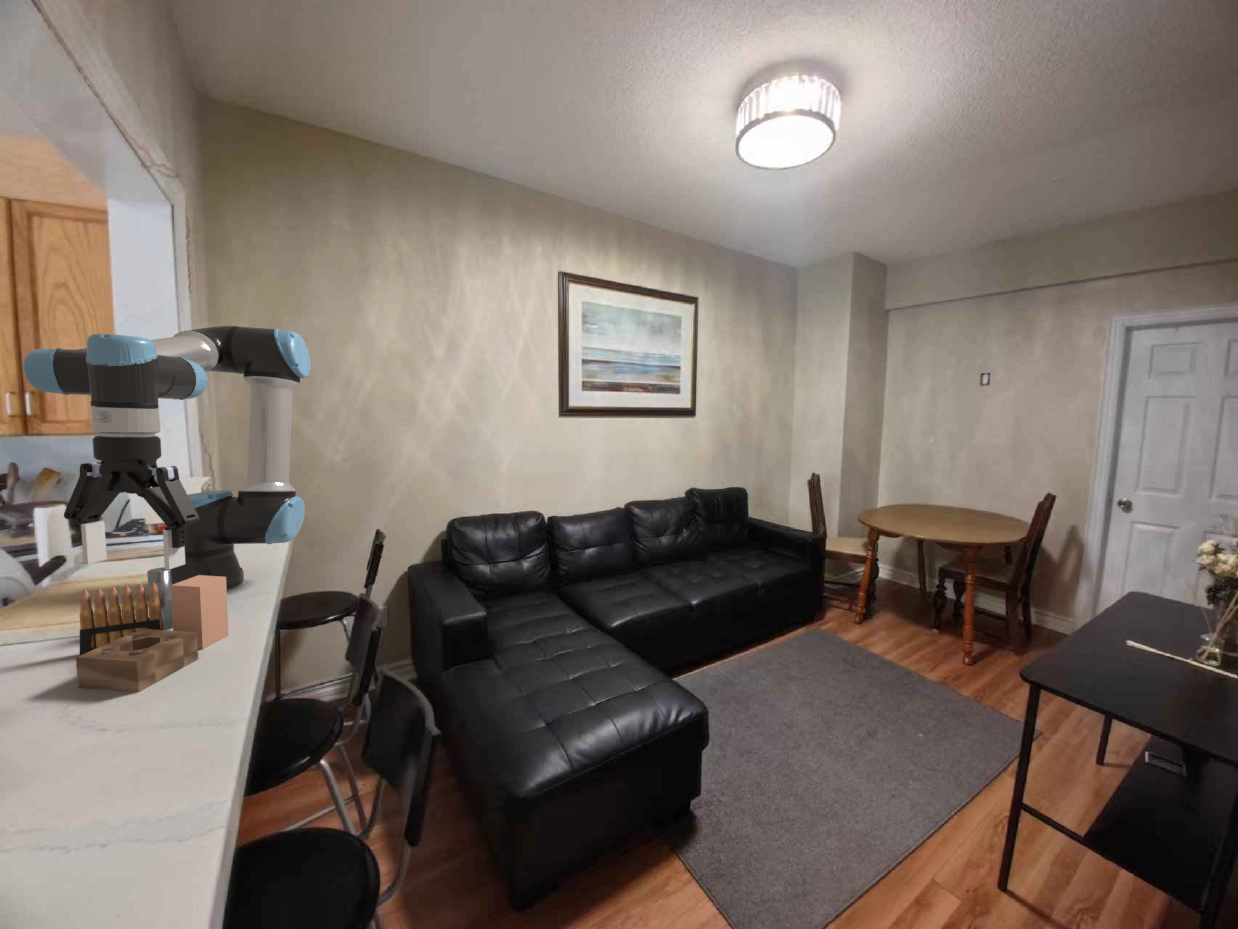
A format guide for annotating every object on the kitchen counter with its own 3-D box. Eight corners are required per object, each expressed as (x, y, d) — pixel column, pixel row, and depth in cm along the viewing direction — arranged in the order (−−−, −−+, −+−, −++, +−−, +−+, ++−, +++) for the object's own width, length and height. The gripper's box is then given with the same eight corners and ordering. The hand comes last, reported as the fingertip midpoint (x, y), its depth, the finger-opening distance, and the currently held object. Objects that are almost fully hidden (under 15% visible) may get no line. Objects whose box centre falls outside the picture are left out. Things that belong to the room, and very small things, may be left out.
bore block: (144, 655, 84) (142, 628, 84) (198, 659, 84) (196, 632, 83) (78, 687, 74) (75, 657, 74) (139, 691, 74) (137, 661, 73)
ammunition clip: (79, 658, 83) (74, 592, 81) (84, 653, 84) (79, 588, 83) (162, 645, 88) (158, 583, 87) (165, 641, 90) (161, 580, 88)
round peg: (162, 623, 96) (159, 566, 95) (178, 624, 96) (176, 567, 95) (145, 631, 93) (142, 572, 92) (162, 632, 93) (159, 573, 91)
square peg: (201, 633, 93) (198, 575, 92) (228, 635, 93) (226, 576, 91) (174, 647, 87) (170, 585, 86) (202, 649, 87) (199, 587, 86)
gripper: (22, 431, 72) (33, 566, 74) (180, 439, 71) (186, 576, 73) (80, 430, 79) (88, 553, 81) (223, 437, 78) (228, 561, 80)
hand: (135, 564), depth 77 cm, fingers open, 13 cm apart
